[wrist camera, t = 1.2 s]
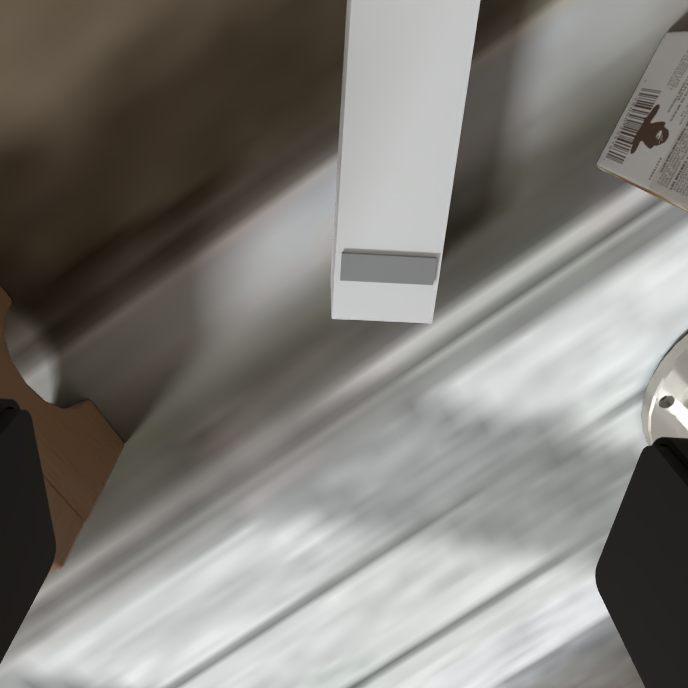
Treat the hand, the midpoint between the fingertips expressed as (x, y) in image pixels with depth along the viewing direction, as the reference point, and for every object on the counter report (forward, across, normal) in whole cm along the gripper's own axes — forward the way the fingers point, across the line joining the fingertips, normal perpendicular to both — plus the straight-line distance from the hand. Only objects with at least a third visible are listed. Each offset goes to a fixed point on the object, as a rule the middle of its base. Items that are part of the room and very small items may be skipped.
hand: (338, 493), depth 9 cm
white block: (+22, -2, -2) cm, 22 cm away
